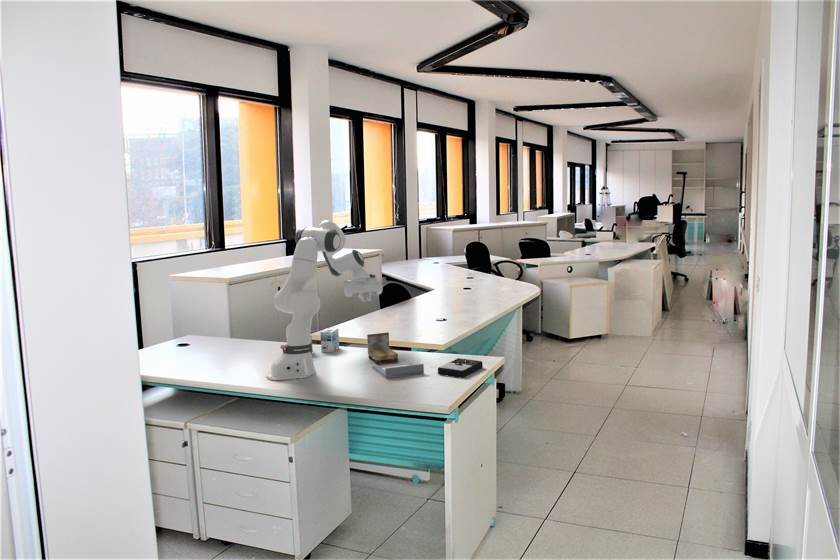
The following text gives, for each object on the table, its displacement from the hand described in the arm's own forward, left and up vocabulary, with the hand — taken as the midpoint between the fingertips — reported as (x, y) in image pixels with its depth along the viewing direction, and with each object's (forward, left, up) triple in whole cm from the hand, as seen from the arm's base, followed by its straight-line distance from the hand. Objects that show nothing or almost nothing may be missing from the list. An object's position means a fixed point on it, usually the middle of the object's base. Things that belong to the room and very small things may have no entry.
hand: (366, 300), depth 357 cm
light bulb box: (-18, +11, -27) cm, 34 cm away
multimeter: (+26, -60, -27) cm, 71 cm away
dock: (0, -45, -27) cm, 52 cm away
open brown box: (0, -24, -26) cm, 36 cm away
